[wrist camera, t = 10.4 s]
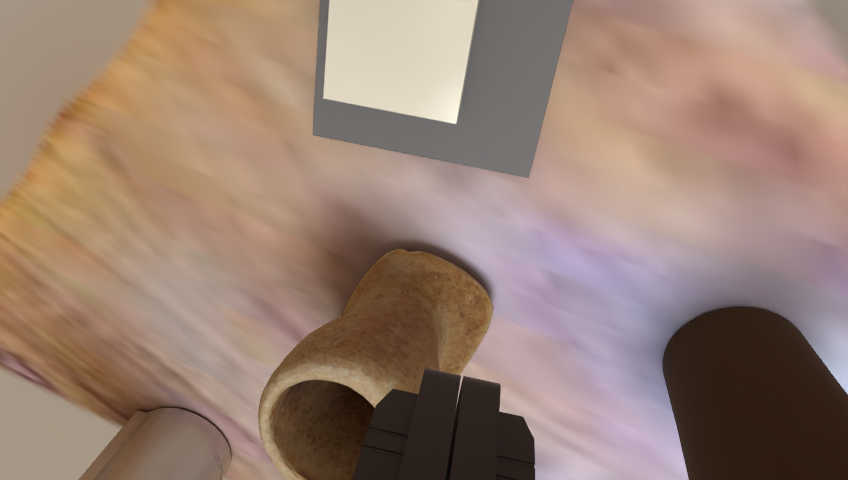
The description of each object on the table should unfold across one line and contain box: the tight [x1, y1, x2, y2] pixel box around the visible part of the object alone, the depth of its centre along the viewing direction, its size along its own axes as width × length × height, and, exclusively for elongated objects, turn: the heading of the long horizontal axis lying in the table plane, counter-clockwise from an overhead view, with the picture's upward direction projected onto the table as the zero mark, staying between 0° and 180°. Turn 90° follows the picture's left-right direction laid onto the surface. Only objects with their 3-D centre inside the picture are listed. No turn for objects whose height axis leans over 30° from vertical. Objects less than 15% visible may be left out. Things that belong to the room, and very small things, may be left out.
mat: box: [313, 0, 573, 178], centre depth 34 cm, size 14×14×1 cm
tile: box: [323, 0, 480, 124], centre depth 33 cm, size 2×8×8 cm
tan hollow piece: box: [258, 249, 493, 480], centre depth 38 cm, size 15×12×15 cm
